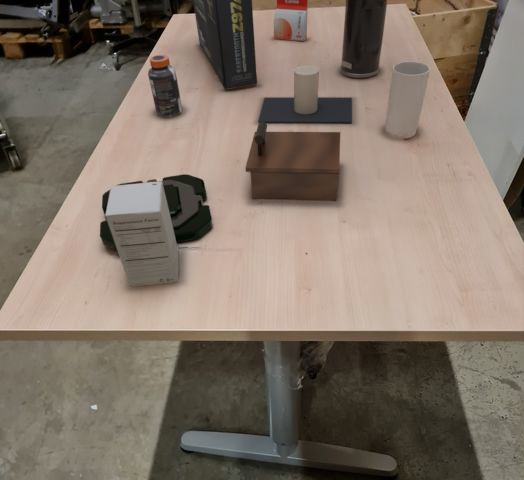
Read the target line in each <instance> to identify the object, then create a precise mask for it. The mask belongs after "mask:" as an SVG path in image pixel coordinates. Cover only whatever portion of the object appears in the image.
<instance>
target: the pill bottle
mask: <svg viewBox="0 0 524 480" xmlns="http://www.w3.org/2000/svg"><path fill="white" fill-rule="evenodd" d="M149 63H150V68H149V69H148V72H147V75H148V80H149V85H150V90H151V94H152V98H153V103H154V108H155V112H156V115H158V117H162V118H171V117H172V118H173V117H176V116H178V115H180V114H181V113H182V112H183V107H182V106H183V105H182V99H181V94H180V89H179V83H178V82H179V81H178V77H177V71H176V69H175V67H173V66H172V65H171V62H170V57H169V55H167V54H155V55H153V56H150V58H149Z"/></svg>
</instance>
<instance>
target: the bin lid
mask: <svg viewBox="0 0 524 480" xmlns="http://www.w3.org/2000/svg"><path fill="white" fill-rule="evenodd" d="M267 130H268V123H265V122H263V121H261V122H259V123H258V124H257V127H256V130H255V131H254V134H253V137H252V141H251V145H250V148H249V153H248V156H247V160H246V164H245V172H246V173H251V172H287V173H339V174H340V165H341V164H340V163H341V162H340V161H341V159H340V157H341V131H267Z"/></svg>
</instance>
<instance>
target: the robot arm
mask: <svg viewBox="0 0 524 480" xmlns="http://www.w3.org/2000/svg"><path fill="white" fill-rule="evenodd" d="M387 6H388V0H345V7H344V8H345V9H344V10H345V11H344V24H343V38H342V51H341V64H340V73H341V74H342V75H343V76H345V77H348V78H352V79H367V78H371V77H372V78H373V77H374V76H376V75H378V74H379V72H380V62H381V55H382V48H383V46H382V45H383V38H384V31H385V23H386V17H387V16H386V15H387Z"/></svg>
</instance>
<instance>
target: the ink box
mask: <svg viewBox="0 0 524 480" xmlns="http://www.w3.org/2000/svg"><path fill="white" fill-rule="evenodd" d="M308 10H309V9H308V0H276V7H275V11H274V17H273V39H277V40H286V41H287V40H288V41H298V42H304V41H306V40H307V37H308V36H307V35H308V13H309V12H308Z"/></svg>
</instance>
